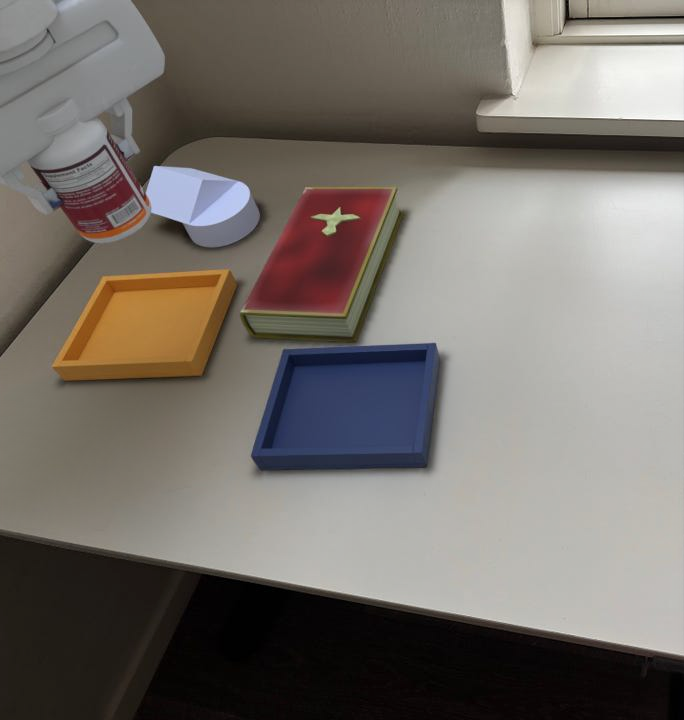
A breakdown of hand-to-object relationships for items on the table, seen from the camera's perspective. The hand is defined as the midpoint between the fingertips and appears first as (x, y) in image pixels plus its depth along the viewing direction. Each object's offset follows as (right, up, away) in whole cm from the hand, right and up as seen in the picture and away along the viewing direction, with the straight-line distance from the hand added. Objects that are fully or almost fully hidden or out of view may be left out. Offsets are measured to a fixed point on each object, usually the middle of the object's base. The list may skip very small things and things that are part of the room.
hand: (90, 181), depth 57 cm
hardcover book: (+14, -4, +25) cm, 29 cm away
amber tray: (-5, -11, +22) cm, 25 cm away
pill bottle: (+1, -3, +3) cm, 4 cm away
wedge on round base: (-3, +3, +34) cm, 35 cm away
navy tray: (+19, -19, +11) cm, 29 cm away
